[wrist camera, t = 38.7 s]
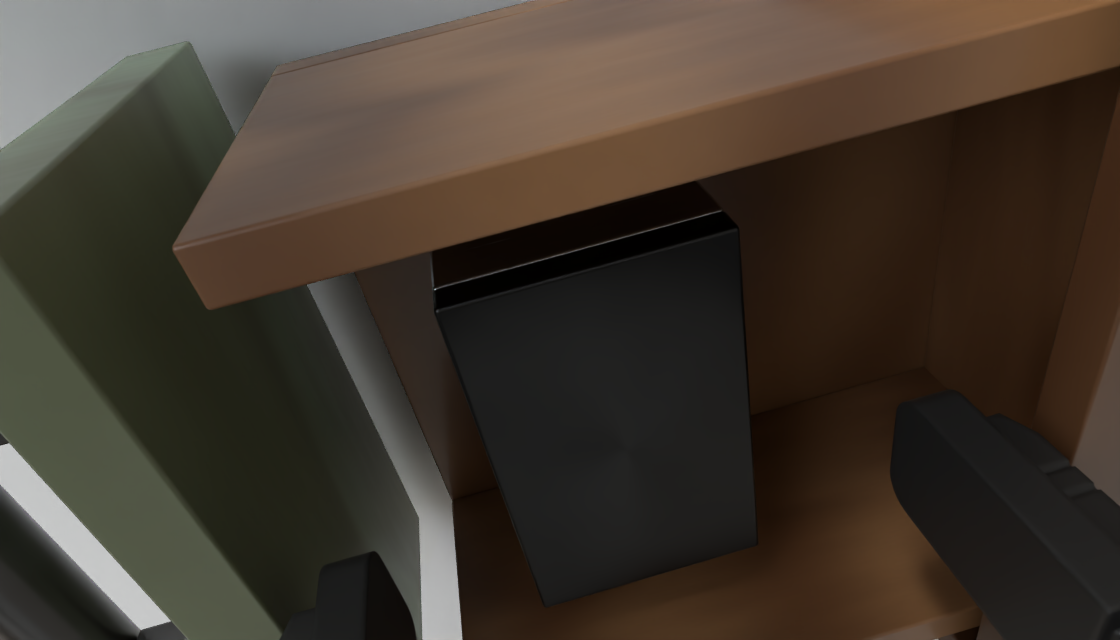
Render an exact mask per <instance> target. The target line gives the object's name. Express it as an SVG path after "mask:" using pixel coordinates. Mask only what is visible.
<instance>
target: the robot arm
mask: <svg viewBox="0 0 1120 640" xmlns="http://www.w3.org/2000/svg"><path fill="white" fill-rule="evenodd" d="M890 478H891V482H892V486H893V489H894V492H895V494H896V497H897V499H898V501H899V503H900V504H901V506H902V508H903V509H904V511H905V512H906V513H907V515H908V516H909V517H910V519H911V520H912V521H913V522H914V524H915V525H916V526H917V528H918V529H919V530H920V532H921V533H922V534H923V535H924V537H925V538H926V539H927V541H928V542H929V543H930V545H931V546H932V547H933V548H934V550H935V551H936V552H937V554H938V555H939V556H940V558H941V559H942V560H943V561H944V563H945V564H946V565H947V567H948V568H949V569H950V571H951V572H952V573H953V574H954V576H955V577H956V578H957V580H958V581H959V582H960V584H961V585H962V586H963V587H964V589H965V590H966V591H967V593H968V594H969V595H970V597H971V598H972V599H973V600H974V602H975V603H976V604H977V606H978V607H979V608H980V610H981V611H982V612H983V613H984V615H985V616H986V617H987V619H988V620H989V621H990V623H991V624H992V625H993V626H994V628H995V629H996V630H997V632H998V633H999V634H1000V636H1001V637H1002V638H1003V639H1004V640H1120V506H1119V505H1118V504H1117V503H1116V502H1115V501H1113V500H1112V499H1111V498H1110V497H1109V496H1108V495H1107V494H1106V493H1105V492H1103V491H1102V490H1101V489H1100V490H1098V489H1096V488H1095V486H1094V482H1092V481H1091V480H1090V479H1089V478H1088V477H1087V476H1086V475H1085V474H1084V473H1083V472H1081V471H1080V470H1079V469H1078V468H1077V467H1076V466H1073V467H1072V466H1071V465H1070V463H1069V460H1068V459H1067V458H1066V457H1065V456H1064V455H1063V454H1062V453H1060V452H1059V451H1058V450H1057V449H1056V448H1055V447H1054V446H1053V445H1052V444H1051V443H1049V442H1048V441H1047V440H1046V439H1045V438H1044V437H1043V436H1042V435H1041V434H1039V433H1038V432H1036V431H1034V430H1032V429H1030V428H1028V427H1026V426H1024V425H1022V424H1020V423H1018V422H1016V421H1014V420H1012V419H1010V418H1008V417H1006V416H1004V415H1002V414H1000V413H998V414H994V415H991V416H987V417H986V416H985V415H984V414H983V413H981V412H980V411H979V410H978V409H977V408H976V407H975V406H974V405H973V404H972V403H971V402H970V401H969V400H968V399H967V398H966V397H965V396H964V395H962V394H961V393H959V392H958V391H956V390H953V389H947V390H944V391H940V392H937V393H933V394H930V395H926V396H923V397H919V398H915V399H912V400H908V401H905V402H902V403H900V404H899V406H898V407H897V411H896V418H895V427H894V436H893V445H892V455H891V464H890ZM280 640H417V637H416V631H415V626H414V622H413V618H412V615H411V612H410V610H409V608H408V606H407V604H406V602H405V600H404V598H403V597H402V595H401V593H400V591H399V589H398V588H397V586H396V584H395V582H394V580H393V578H392V577H391V575H390V573H389V571H388V569H387V568H386V566H385V564H384V562H383V560H382V559H381V557H380V555H379V554H378V553H377V552H376V551H371V552H368V553H364V554H361V555H357V556H354V557H350V558H347V559H343V560H340V561H336V562H333V563H329V564H326V565H324V566H323V567H322V568H321V570H320V574H319V579H318V588H317V597H316V605H315V608H312V609H308V610H305V611H301V612H298V613H294V614H293V615H292V617H291V619H290V620H289V622H288V624H287V626H286V628H285V630H284V632H283V634H282V636H281V638H280Z"/></svg>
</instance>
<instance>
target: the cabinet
mask: <svg viewBox="0 0 1120 640" xmlns="http://www.w3.org/2000/svg"><path fill="white" fill-rule="evenodd" d="M1031 429H1032V430H1034V431H1036V432H1038V433H1039V434H1041V435H1042V436H1043V437H1044V438H1045V439H1046V440H1047V441H1048V442H1049V443H1051V444H1052V445H1053V446H1054V447H1055V448H1056V449H1057V450H1058V451H1059V452H1060V453H1062V454H1063V455H1064V456H1065V457H1066V458H1067V459H1068V460H1069V463H1070V465H1071V466H1072V467H1073V466H1076V467H1077V468H1078V469H1079V470H1080V471H1081V472H1083V473H1084V474H1085V475H1086V476H1087V477H1088V478H1089V479H1090V480H1091V481H1092V482H1094V486H1095V488H1096V489H1098V490H1100V489H1101V490H1102V491H1103V492H1105V493H1106V494H1107V495H1108V496H1109V497H1110V498H1111V499H1112V500H1113V501H1115V502H1116V503H1117V504H1118V505H1119V506H1120V87H1119V91H1118V95H1117V99H1116V103H1115V107H1114V111H1113V114H1112V118H1111V122H1110V126H1109V130H1108V134H1107V137H1106V141H1105V145H1104V149H1103V153H1102V157H1101V161H1100V164H1099V168H1098V172H1097V176H1096V180H1095V184H1094V187H1093V191H1092V195H1091V199H1090V203H1089V207H1088V211H1087V214H1086V218H1085V222H1084V226H1083V230H1082V234H1081V237H1080V241H1079V245H1078V249H1077V253H1076V257H1075V261H1074V264H1073V268H1072V272H1071V276H1070V280H1069V284H1068V287H1067V291H1066V295H1065V299H1064V303H1063V307H1062V311H1061V314H1060V318H1059V322H1058V326H1057V330H1056V334H1055V337H1054V341H1053V345H1052V349H1051V353H1050V357H1049V361H1048V364H1047V368H1046V372H1045V376H1044V380H1043V384H1042V387H1041V391H1040V395H1039V399H1038V403H1037V407H1036V411H1035V414H1034V418H1033V422H1032V426H1031ZM938 639H939V640H1004V639H1003V638H1002V637H1001V636H1000V634H999V633H998V632H997V630H996V629H995V628H994V626H993V625H992V624H991V623H990V621H989V620H988V619H987V617H986V616H985V615H984V613H983V614H982V618H981V622H980V626H977V627H974V628H971V629H967V630H964V631H961V632H957V633H954V634H951V635H948V636H944V637H941V638H938Z"/></svg>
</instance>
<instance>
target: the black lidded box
mask: <svg viewBox="0 0 1120 640" xmlns="http://www.w3.org/2000/svg"><path fill="white" fill-rule="evenodd" d="M429 254H430V268H431V282H432V291H433V308H434V314H435V317H436V320H437V322H438V325H439V328H440V330H441V333H442V336H443V338H444V341H445V344H446V347H447V349H448V352H449V355H450V357H451V360H452V363H453V365H454V368H455V371H456V373H457V376H458V379H459V381H460V384H461V387H462V389H463V392H464V395H465V397H466V400H467V403H468V406H469V408H470V411H471V414H472V416H473V419H474V422H475V424H476V427H477V430H478V432H479V435H480V438H481V440H482V443H483V446H484V448H485V451H486V454H487V457H488V459H489V462H490V465H491V467H492V470H493V473H494V475H495V478H496V481H497V483H498V486H499V489H500V491H501V494H502V497H503V499H504V502H505V505H506V507H507V510H508V513H509V516H510V518H511V521H512V524H513V526H514V529H515V532H516V534H517V537H518V540H519V542H520V545H521V548H522V550H523V553H524V556H525V558H526V561H527V564H528V566H529V569H530V572H531V575H532V577H533V580H534V583H535V585H536V588H537V591H538V593H539V596H540V599H541V601H542V604H543V606H544V607H545V608H548V607H551V606H555V605H558V604H561V603H565V602H568V601H572V600H575V599H578V598H582V597H585V596H589V595H592V594H595V593H599V592H602V591H606V590H609V589H612V588H616V587H619V586H622V585H626V584H629V583H633V582H636V581H639V580H643V579H646V578H650V577H653V576H656V575H660V574H663V573H667V572H670V571H673V570H677V569H680V568H683V567H687V566H690V565H694V564H697V563H700V562H704V561H707V560H711V559H714V558H717V557H721V556H724V555H728V554H731V553H734V552H738V551H741V550H745V549H748V548H751V547H755V546H757V545H758V544H759V538H758V522H757V505H756V489H755V473H754V457H753V441H752V425H751V408H750V392H749V376H748V360H747V344H746V328H745V312H744V295H743V279H742V263H741V247H740V231H739V227H738V225H737V224H736V223H735V222H734V221H733V220H732V219H731V217H730V216H729V215H728V214H727V213H726V212H724V211H723V209H722V207H721V206H720V205H719V204H718V203H717V202H716V201H715V200H714V198H713V197H712V196H711V195H710V194H709V193H708V192H707V191H706V190H705V189H704V187H703V186H702V185H701V184H700V183H699V182H698V181H697V180H696V181H692V182H689V183H685V184H681V185H677V186H674V187H670V188H666V189H662V190H659V191H655V192H651V193H647V194H644V195H640V196H636V197H632V198H629V199H625V200H621V201H618V202H614V203H610V204H606V205H603V206H599V207H595V208H591V209H588V210H584V211H580V212H576V213H573V214H569V215H565V216H561V217H558V218H554V219H550V220H546V221H543V222H539V223H535V224H532V225H528V226H524V227H520V228H517V229H513V230H509V231H505V232H502V233H498V234H494V235H490V236H487V237H483V238H479V239H475V240H472V241H468V242H464V243H460V244H457V245H453V246H449V247H446V248H442V249H438V250H434V251H431V252H429Z"/></svg>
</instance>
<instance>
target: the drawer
mask: <svg viewBox="0 0 1120 640" xmlns="http://www.w3.org/2000/svg"><path fill="white" fill-rule="evenodd" d="M1119 87H1120V0H533V1H530V2H526V3H522V4H518V5H514V6H510V7H506V8H502V9H498V10H494V11H490V12H486V13H482V14H478V15H474V16H470V17H466V18H462V19H459V20H455V21H451V22H447V23H443V24H439V25H435V26H431V27H427V28H423V29H419V30H415V31H411V32H407V33H403V34H399V35H395V36H391V37H387V38H384V39H380V40H376V41H372V42H368V43H364V44H360V45H356V46H352V47H348V48H344V49H340V50H336V51H332V52H328V53H324V54H320V55H316V56H313V57H309V58H305V59H301V60H297V61H293V62H289V63H285V64H281V65H278V66H277V67H276V68H275V70H274V72H273V74H272V75H271V78H270V79H269V81H268V83H267V84H266V86H265V88H264V89H263V91H262V93H261V95H260V96H259V98H258V100H257V101H256V103H255V105H254V107H253V108H252V110H251V112H250V113H249V115H248V117H247V119H246V120H245V122H244V124H243V126H242V127H241V129H240V131H239V132H238V134H237V136H235V134H234V132H233V130H232V127H231V125H230V123H229V121H228V119H227V117H226V115H225V113H224V111H223V109H222V107H221V105H220V102H219V100H218V98H217V96H216V94H215V92H214V90H213V88H212V86H211V84H210V82H209V79H208V77H207V75H206V73H205V71H204V69H203V67H202V65H201V63H200V61H199V59H198V57H197V54H196V52H195V50H194V48H193V46H192V44H191V43H190V42H183V43H179V44H175V45H171V46H167V47H163V48H159V49H155V50H151V51H147V52H143V53H139V54H135V55H131V56H127V57H126V58H124V59H123V60H121V61H120V62H119V63H117V64H116V65H115V66H113V67H112V68H111V69H109V70H108V71H107V72H105V73H104V74H103V75H101V76H100V77H98V78H97V79H96V80H94V81H93V82H92V83H90V84H89V85H88V86H86V87H85V88H84V89H82V90H81V91H80V92H78V93H77V94H76V95H74V96H73V97H71V98H70V99H69V100H67V101H66V102H65V103H63V104H62V105H61V106H59V107H58V108H57V109H55V110H54V111H53V112H51V113H50V114H48V115H47V116H46V117H44V118H43V119H42V120H40V121H39V122H38V123H36V124H35V125H34V126H32V127H31V128H30V129H28V130H27V131H25V132H24V133H23V134H21V135H20V136H19V137H17V138H16V139H15V140H13V141H12V142H11V143H9V144H8V145H7V146H5V147H4V148H3V149H1V150H0V445H4V444H8V443H10V444H11V445H12V446H13V448H14V449H15V450H16V451H17V452H18V453H19V454H20V455H21V456H22V457H23V459H24V460H25V461H26V462H27V463H28V464H29V465H30V466H31V467H32V468H33V470H34V471H35V472H36V473H37V474H38V475H39V476H40V477H41V478H42V479H43V481H44V482H45V483H46V484H47V485H48V486H49V487H50V488H51V489H52V490H53V492H54V493H55V494H56V495H57V496H58V497H59V498H60V499H61V500H62V501H63V503H64V504H65V505H66V506H67V507H68V508H69V509H70V510H71V511H72V512H73V514H74V515H75V516H76V517H77V518H78V519H79V520H80V521H81V522H82V523H83V525H84V526H85V527H86V528H87V529H88V530H89V531H90V532H91V533H92V535H93V536H94V537H95V538H96V539H97V540H98V541H99V542H100V543H101V544H102V546H103V547H104V548H105V549H106V550H107V551H108V552H109V553H110V554H111V555H112V557H113V558H114V559H115V560H116V561H117V562H118V563H119V564H120V565H121V566H122V568H123V569H124V570H125V571H126V572H127V573H128V574H129V575H130V576H131V577H132V579H133V580H134V581H135V582H136V583H137V584H138V585H139V586H140V587H141V588H142V590H143V591H144V592H145V593H146V594H147V595H148V596H149V597H150V598H151V599H152V601H153V602H154V603H155V604H156V605H157V606H158V607H159V608H160V609H161V610H162V612H163V613H164V614H165V615H166V616H167V617H168V618H169V619H170V620H171V622H167V623H164V624H160V625H157V626H153V627H150V628H146V629H143V630H140V629H139V628H138V627H137V626H136V625H135V624H134V623H133V622H132V621H131V620H130V619H129V618H128V617H127V616H126V614H125V613H124V612H123V611H122V610H121V609H120V608H119V607H118V606H117V605H116V604H115V603H114V602H113V601H112V600H111V599H110V598H109V597H108V596H107V595H106V594H105V593H104V592H103V591H102V590H101V589H100V588H99V587H98V585H97V584H96V583H95V582H94V581H93V580H92V579H91V578H90V577H89V576H88V575H87V574H86V573H85V572H84V571H83V570H82V569H81V568H80V567H79V566H78V565H77V564H76V563H75V562H74V561H73V560H72V559H71V558H70V556H69V555H68V554H67V553H66V552H65V551H64V550H63V549H62V548H61V547H60V546H59V545H58V544H57V543H56V542H55V541H54V540H53V539H52V538H51V537H50V536H49V535H48V534H47V533H46V532H45V531H44V530H43V529H42V527H41V526H40V525H39V524H38V523H37V522H36V521H35V520H34V519H33V518H32V517H31V516H30V515H29V514H28V513H27V512H26V511H25V510H24V509H23V508H22V507H21V506H20V505H19V504H18V503H17V502H16V501H15V500H14V498H13V497H12V496H11V495H10V494H9V493H8V492H7V491H6V490H5V489H4V488H3V487H2V486H1V485H0V640H280V638H281V636H282V634H283V632H284V630H285V628H286V626H287V624H288V622H289V620H290V619H291V617H292V615H293V614H294V613H298V612H301V611H305V610H308V609H312V608H315V605H316V597H317V588H318V579H319V574H320V570H321V568H322V567H323V566H324V565H326V564H329V563H333V562H336V561H340V560H343V559H347V558H350V557H354V556H357V555H361V554H364V553H368V552H371V551H376V552H377V553H378V554H379V555H380V557H381V559H382V560H383V562H384V564H385V566H386V568H387V569H388V571H389V573H390V575H391V577H392V578H393V580H394V582H395V584H396V586H397V588H398V589H399V591H400V593H401V595H402V597H403V598H404V600H405V602H406V604H407V606H408V608H409V610H410V612H411V615H412V618H413V622H414V626H415V631H416V637H417V640H422V613H421V576H420V540H419V517H418V515H417V513H416V511H415V509H414V507H413V505H412V503H411V501H410V498H409V496H408V494H407V492H406V490H405V488H404V486H403V484H402V482H401V480H400V478H399V475H398V473H397V471H396V469H395V467H394V465H393V463H392V461H391V459H390V457H389V455H388V453H387V450H386V448H385V446H384V444H383V442H382V440H381V438H380V436H379V434H378V432H377V430H376V428H375V425H374V423H373V421H372V419H371V417H370V415H369V413H368V411H367V409H366V407H365V405H364V403H363V400H362V398H361V396H360V394H359V392H358V390H357V388H356V386H355V384H354V382H353V380H352V378H351V375H350V373H349V371H348V369H347V367H346V365H345V363H344V361H343V359H342V357H341V355H340V353H339V350H338V348H337V346H336V344H335V342H334V340H333V338H332V336H331V334H330V332H329V330H328V328H327V325H326V323H325V321H324V319H323V317H322V315H321V313H320V311H319V309H318V307H317V305H316V303H315V300H314V298H313V296H312V294H311V292H310V290H309V288H308V286H307V284H311V283H315V282H318V281H322V280H326V279H330V278H333V277H337V276H341V275H345V274H348V273H352V272H354V274H355V276H356V278H357V281H358V283H359V285H360V288H361V290H362V292H363V295H364V297H365V299H366V302H367V304H368V306H369V309H370V311H371V313H372V316H373V318H374V320H375V323H376V325H377V327H378V330H379V332H380V334H381V337H382V339H383V341H384V344H385V346H386V348H387V351H388V353H389V355H390V358H391V360H392V362H393V365H394V367H395V369H396V372H397V374H398V376H399V379H400V381H401V383H402V386H403V388H404V390H405V393H406V395H407V397H408V400H409V402H410V404H411V407H412V409H413V411H414V413H415V416H416V418H417V420H418V423H419V425H420V427H421V430H422V432H423V434H424V437H425V439H426V441H427V444H428V446H429V448H430V451H431V453H432V455H433V458H434V460H435V462H436V465H437V467H438V469H439V472H440V474H441V476H442V479H443V481H444V483H445V486H446V488H447V490H448V493H449V495H450V497H451V500H452V512H453V524H454V537H455V550H456V562H457V575H458V588H459V601H460V613H461V626H462V639H463V640H934V639H938V638H941V637H944V636H948V635H951V634H954V633H957V632H961V631H964V630H967V629H971V628H974V627H977V626H980V622H981V618H982V614H983V612H982V611H981V610H980V608H979V607H978V606H977V604H976V603H975V602H974V600H973V599H972V598H971V597H970V595H969V594H968V593H967V591H966V590H965V589H964V587H963V586H962V585H961V584H960V582H959V581H958V580H957V578H956V577H955V576H954V574H953V573H952V572H951V571H950V569H949V568H948V567H947V565H946V564H945V563H944V561H943V560H942V559H941V558H940V556H939V555H938V554H937V552H936V551H935V550H934V548H933V547H932V546H931V545H930V543H929V542H928V541H927V539H926V538H925V537H924V535H923V534H922V533H921V532H920V530H919V529H918V528H917V526H916V525H915V524H914V522H913V521H912V520H911V519H910V517H909V516H908V515H907V513H906V512H905V511H904V509H903V508H902V506H901V504H900V503H899V501H898V499H897V497H896V494H895V492H894V489H893V486H892V482H891V478H890V464H891V455H892V445H893V436H894V427H895V418H896V411H897V407H898V406H899V404H900V403H902V402H905V401H908V400H912V399H915V398H919V397H923V396H926V395H930V394H933V393H937V392H940V391H944V390H947V389H953V390H956V391H958V392H959V393H961V394H962V395H964V396H965V397H966V398H967V399H968V400H969V401H970V402H971V403H972V404H973V405H974V406H975V407H976V408H977V409H978V410H979V411H980V412H981V413H983V414H984V415H985V416H986V417H987V416H991V415H994V414H998V413H1000V414H1002V415H1004V416H1006V417H1008V418H1010V419H1012V420H1014V421H1016V422H1018V423H1020V424H1022V425H1024V426H1026V427H1028V428H1030V429H1031V426H1032V422H1033V418H1034V414H1035V411H1036V407H1037V403H1038V399H1039V395H1040V391H1041V387H1042V384H1043V380H1044V376H1045V372H1046V368H1047V364H1048V361H1049V357H1050V353H1051V349H1052V345H1053V341H1054V337H1055V334H1056V330H1057V326H1058V322H1059V318H1060V314H1061V311H1062V307H1063V303H1064V299H1065V295H1066V291H1067V287H1068V284H1069V280H1070V276H1071V272H1072V268H1073V264H1074V261H1075V257H1076V253H1077V249H1078V245H1079V241H1080V237H1081V234H1082V230H1083V226H1084V222H1085V218H1086V214H1087V211H1088V207H1089V203H1090V199H1091V195H1092V191H1093V187H1094V184H1095V180H1096V176H1097V172H1098V168H1099V164H1100V161H1101V157H1102V153H1103V149H1104V145H1105V141H1106V137H1107V134H1108V130H1109V126H1110V122H1111V118H1112V114H1113V111H1114V107H1115V103H1116V99H1117V95H1118V91H1119ZM696 180H697V181H698V182H699V183H700V184H701V185H702V186H703V187H704V189H705V190H706V191H707V192H708V193H709V194H710V195H711V196H712V197H713V198H714V200H715V201H716V202H717V203H718V204H719V205H720V206H721V207H722V209H723V211H724V212H726V213H727V214H728V215H729V216H730V217H731V219H732V220H733V221H734V222H735V223H736V224H737V225H738V227H739V231H740V247H741V263H742V279H743V295H744V312H745V328H746V344H747V360H748V376H749V392H750V408H751V425H752V441H753V457H754V473H755V489H756V505H757V522H758V538H759V544H758V545H757V546H755V547H751V548H748V549H745V550H741V551H738V552H734V553H731V554H728V555H724V556H721V557H717V558H714V559H711V560H707V561H704V562H700V563H697V564H694V565H690V566H687V567H683V568H680V569H677V570H673V571H670V572H667V573H663V574H660V575H656V576H653V577H650V578H646V579H643V580H639V581H636V582H633V583H629V584H626V585H622V586H619V587H616V588H612V589H609V590H606V591H602V592H599V593H595V594H592V595H589V596H585V597H582V598H578V599H575V600H572V601H568V602H565V603H561V604H558V605H555V606H551V607H548V608H545V607H544V606H543V604H542V601H541V599H540V596H539V593H538V591H537V588H536V585H535V583H534V580H533V577H532V575H531V572H530V569H529V566H528V564H527V561H526V558H525V556H524V553H523V550H522V548H521V545H520V542H519V540H518V537H517V534H516V532H515V529H514V526H513V524H512V521H511V518H510V516H509V513H508V510H507V507H506V505H505V502H504V499H503V497H502V494H501V491H500V489H499V486H498V483H497V481H496V478H495V475H494V473H493V470H492V467H491V465H490V462H489V459H488V457H487V454H486V451H485V448H484V446H483V443H482V440H481V438H480V435H479V432H478V430H477V427H476V424H475V422H474V419H473V416H472V414H471V411H470V408H469V406H468V403H467V400H466V397H465V395H464V392H463V389H462V387H461V384H460V381H459V379H458V376H457V373H456V371H455V368H454V365H453V363H452V360H451V357H450V355H449V352H448V349H447V347H446V344H445V341H444V338H443V336H442V333H441V330H440V328H439V325H438V322H437V320H436V317H435V314H434V308H433V291H432V282H431V268H430V254H429V252H431V251H434V250H438V249H442V248H446V247H449V246H453V245H457V244H460V243H464V242H468V241H472V240H475V239H479V238H483V237H487V236H490V235H494V234H498V233H502V232H505V231H509V230H513V229H517V228H520V227H524V226H528V225H532V224H535V223H539V222H543V221H546V220H550V219H554V218H558V217H561V216H565V215H569V214H573V213H576V212H580V211H584V210H588V209H591V208H595V207H599V206H603V205H606V204H610V203H614V202H618V201H621V200H625V199H629V198H632V197H636V196H640V195H644V194H647V193H651V192H655V191H659V190H662V189H666V188H670V187H674V186H677V185H681V184H685V183H689V182H692V181H696Z"/></svg>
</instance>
